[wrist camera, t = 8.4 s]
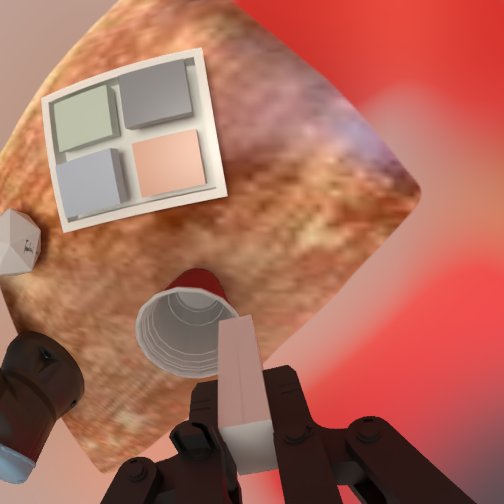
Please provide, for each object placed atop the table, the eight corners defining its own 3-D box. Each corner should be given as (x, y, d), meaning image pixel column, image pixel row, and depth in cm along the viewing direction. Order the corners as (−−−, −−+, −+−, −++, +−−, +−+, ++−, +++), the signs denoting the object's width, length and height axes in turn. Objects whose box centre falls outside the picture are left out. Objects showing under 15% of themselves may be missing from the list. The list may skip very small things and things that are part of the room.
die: (34, 277, 38) (36, 288, 31) (-17, 264, 32) (-28, 271, 25) (46, 221, 39) (50, 218, 32) (-5, 206, 33) (-13, 199, 26)
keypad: (77, 226, 36) (63, 233, 32) (56, 102, 31) (41, 98, 28) (227, 192, 37) (227, 196, 33) (203, 58, 32) (201, 47, 28)
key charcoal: (132, 130, 31) (125, 128, 28) (125, 81, 29) (118, 75, 26) (194, 115, 31) (191, 111, 28) (186, 65, 29) (183, 58, 27)
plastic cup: (150, 316, 40) (128, 369, 29) (165, 240, 38) (141, 273, 26) (228, 335, 42) (230, 392, 31) (250, 262, 40) (260, 303, 28)
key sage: (69, 152, 32) (59, 152, 29) (63, 107, 30) (53, 104, 28) (120, 136, 32) (112, 134, 30) (113, 89, 30) (105, 84, 28)
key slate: (75, 214, 33) (65, 218, 30) (65, 165, 31) (55, 166, 28) (127, 200, 33) (120, 204, 30) (117, 148, 31) (109, 148, 29)
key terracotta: (147, 195, 34) (142, 198, 32) (138, 144, 33) (131, 143, 30) (207, 182, 35) (205, 184, 32) (197, 131, 33) (195, 128, 30)
